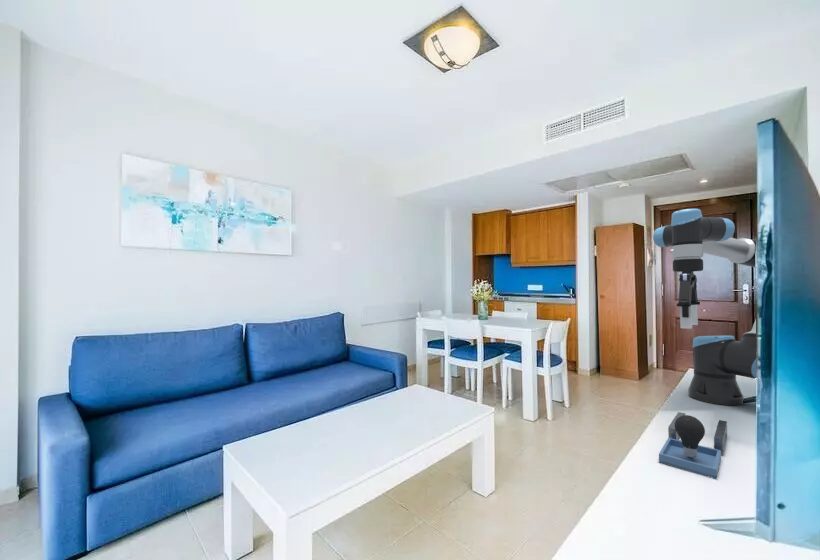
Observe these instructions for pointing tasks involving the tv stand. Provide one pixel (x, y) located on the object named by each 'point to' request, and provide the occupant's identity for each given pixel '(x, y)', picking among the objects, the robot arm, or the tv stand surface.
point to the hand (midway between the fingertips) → (689, 326)
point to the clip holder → (718, 438)
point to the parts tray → (701, 464)
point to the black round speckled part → (689, 434)
